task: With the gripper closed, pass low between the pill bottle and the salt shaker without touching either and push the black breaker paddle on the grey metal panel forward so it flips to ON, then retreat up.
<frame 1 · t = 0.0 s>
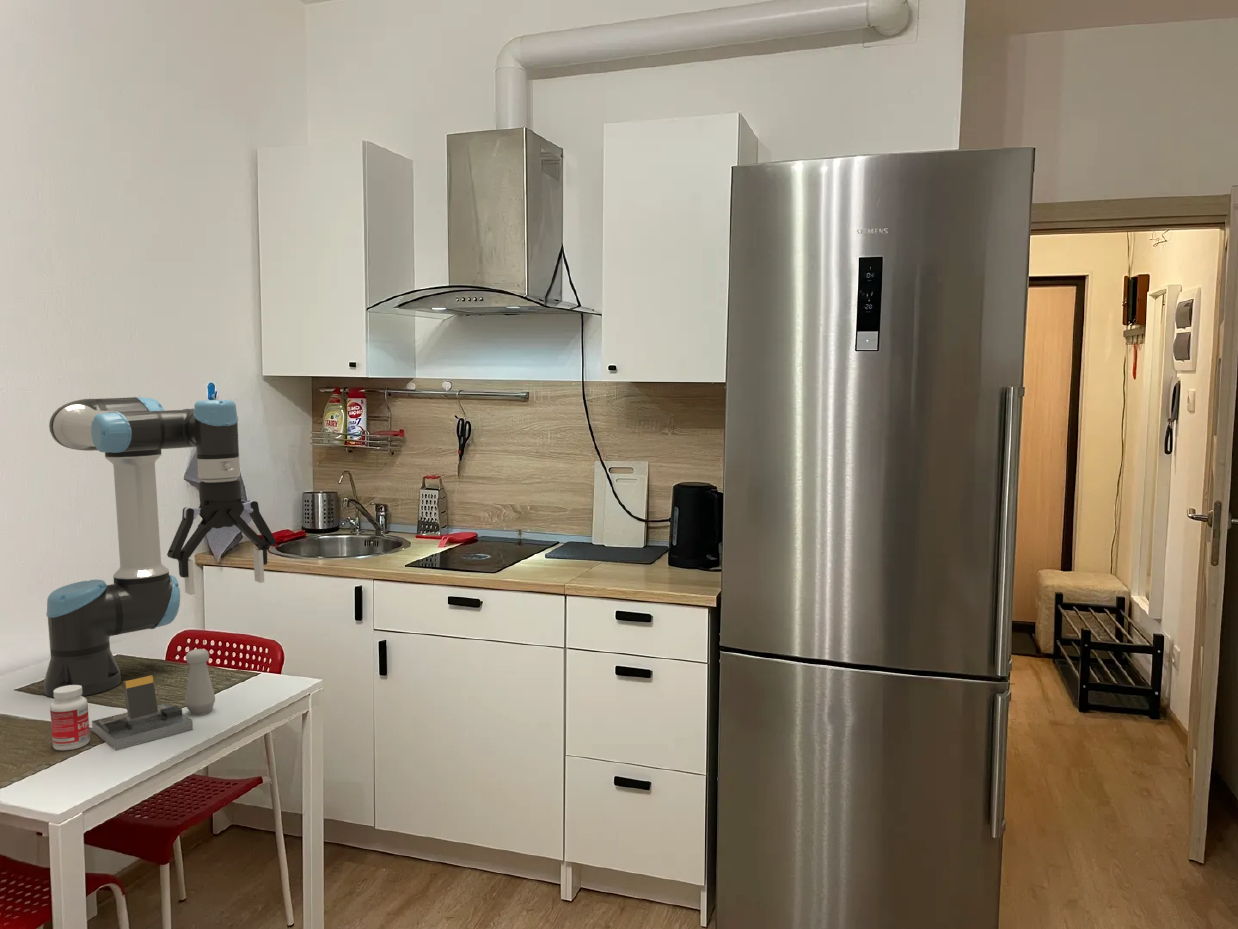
hand: (225, 587, 185), 28 cm above the table, fingers open, 13 cm apart
panel: (142, 730, 186), on the table
paddle: (140, 699, 186), point 6 cm above the table, hinge at -15.0°
pill bottle: (71, 746, 179), on the table
salt shaker: (200, 712, 196), on the table
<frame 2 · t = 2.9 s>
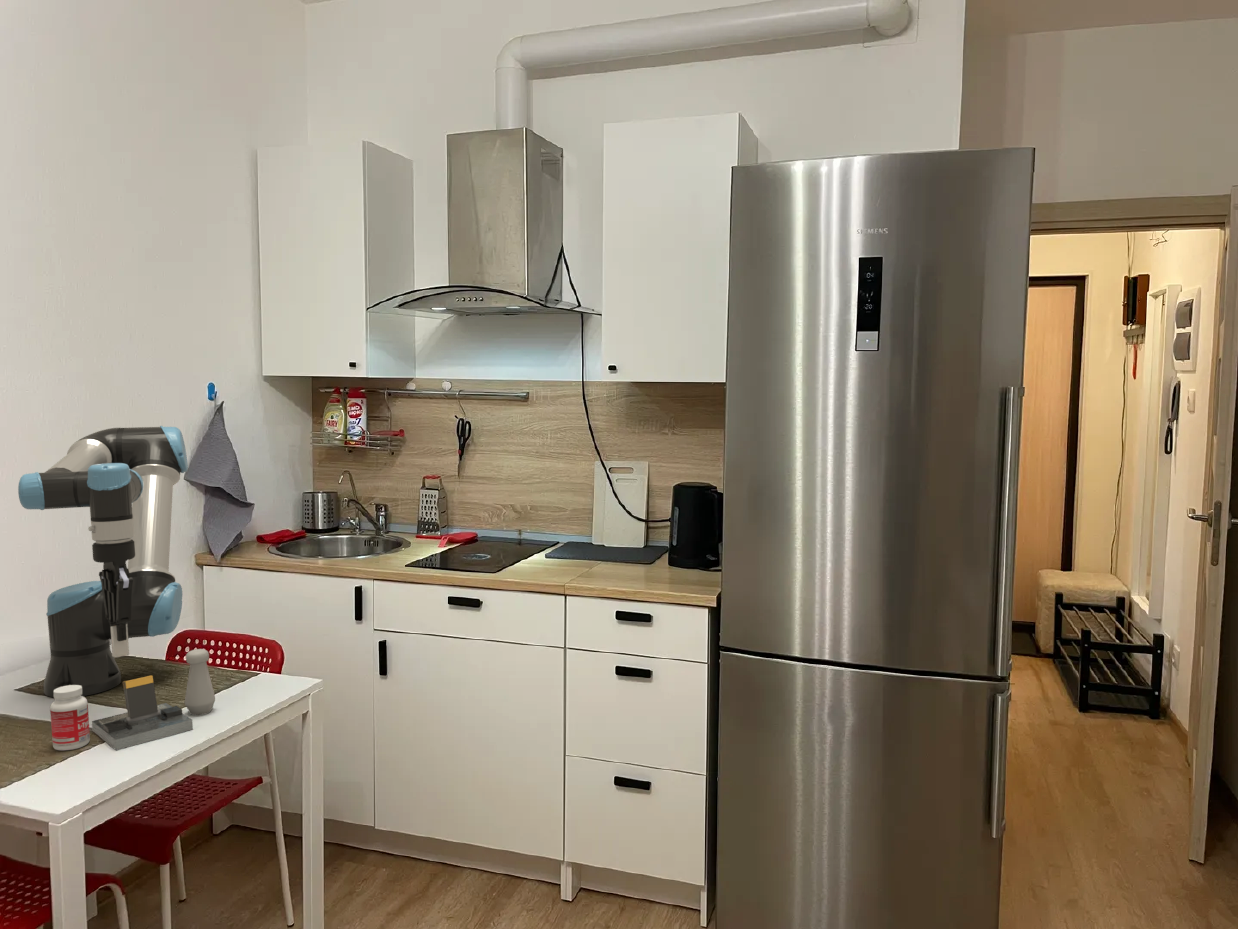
hand: (120, 655, 192), 13 cm above the table, fingers closed
nothing on the table moved.
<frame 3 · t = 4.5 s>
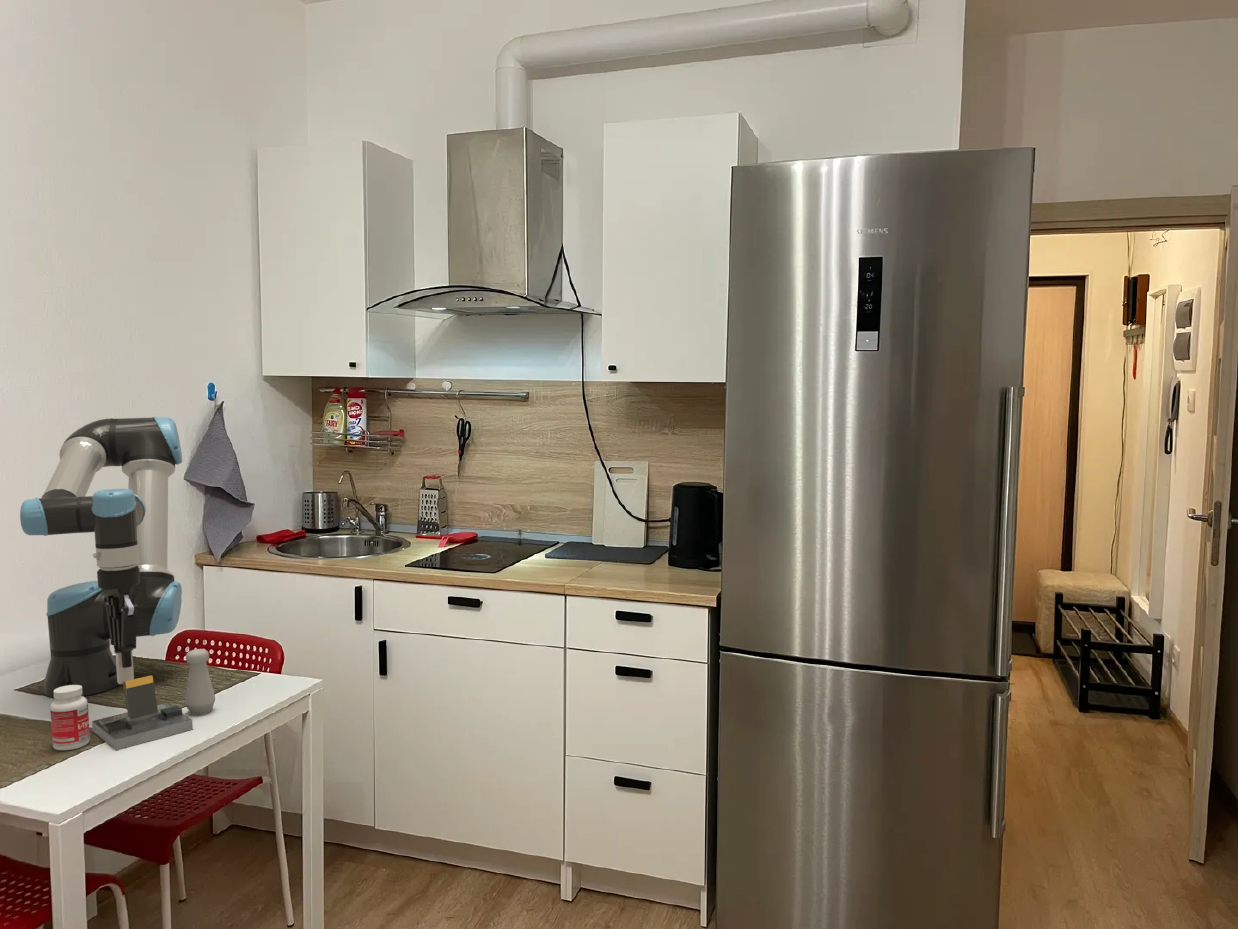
hand: (125, 681, 191), 8 cm above the table, fingers closed
nothing on the table moved.
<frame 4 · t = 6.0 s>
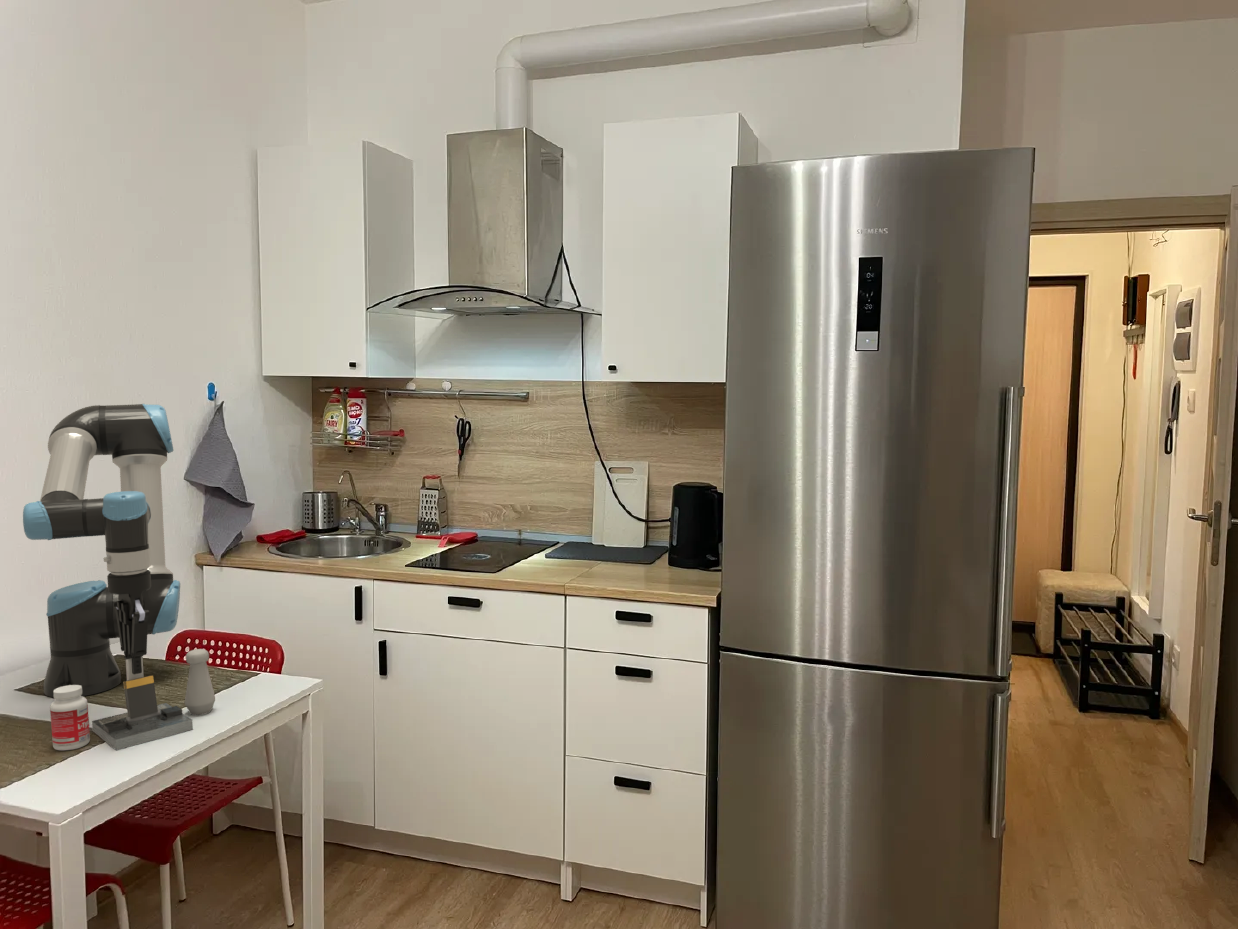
hand: (135, 688, 187), 8 cm above the table, fingers closed
paddle: (141, 699, 185), point 6 cm above the table, hinge at -12.4°, touching gripper
everything else where it was.
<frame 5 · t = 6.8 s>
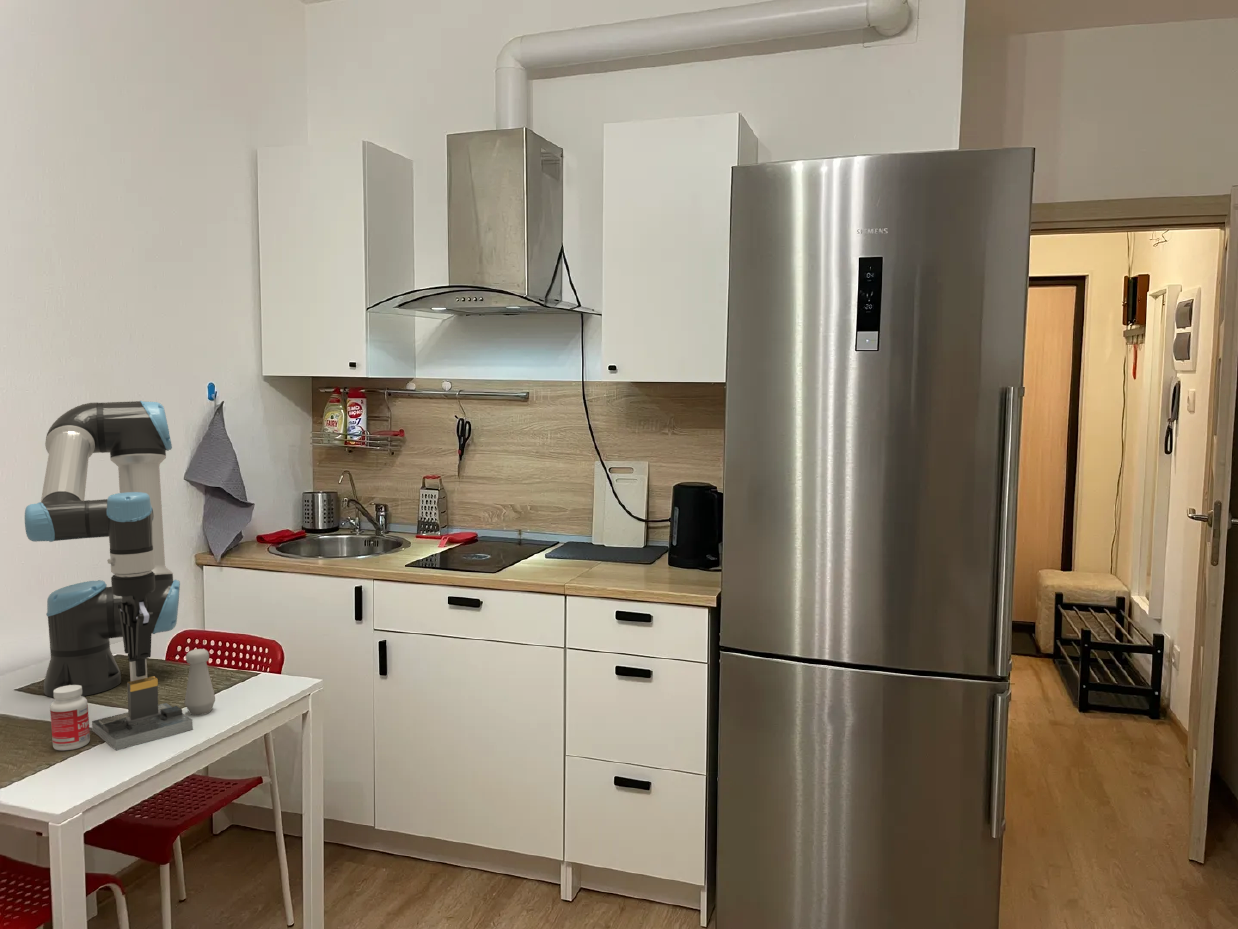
hand: (139, 691, 185), 8 cm above the table, fingers closed
paddle: (143, 700, 185), point 6 cm above the table, hinge at 6.3°, touching gripper
everything else where it was.
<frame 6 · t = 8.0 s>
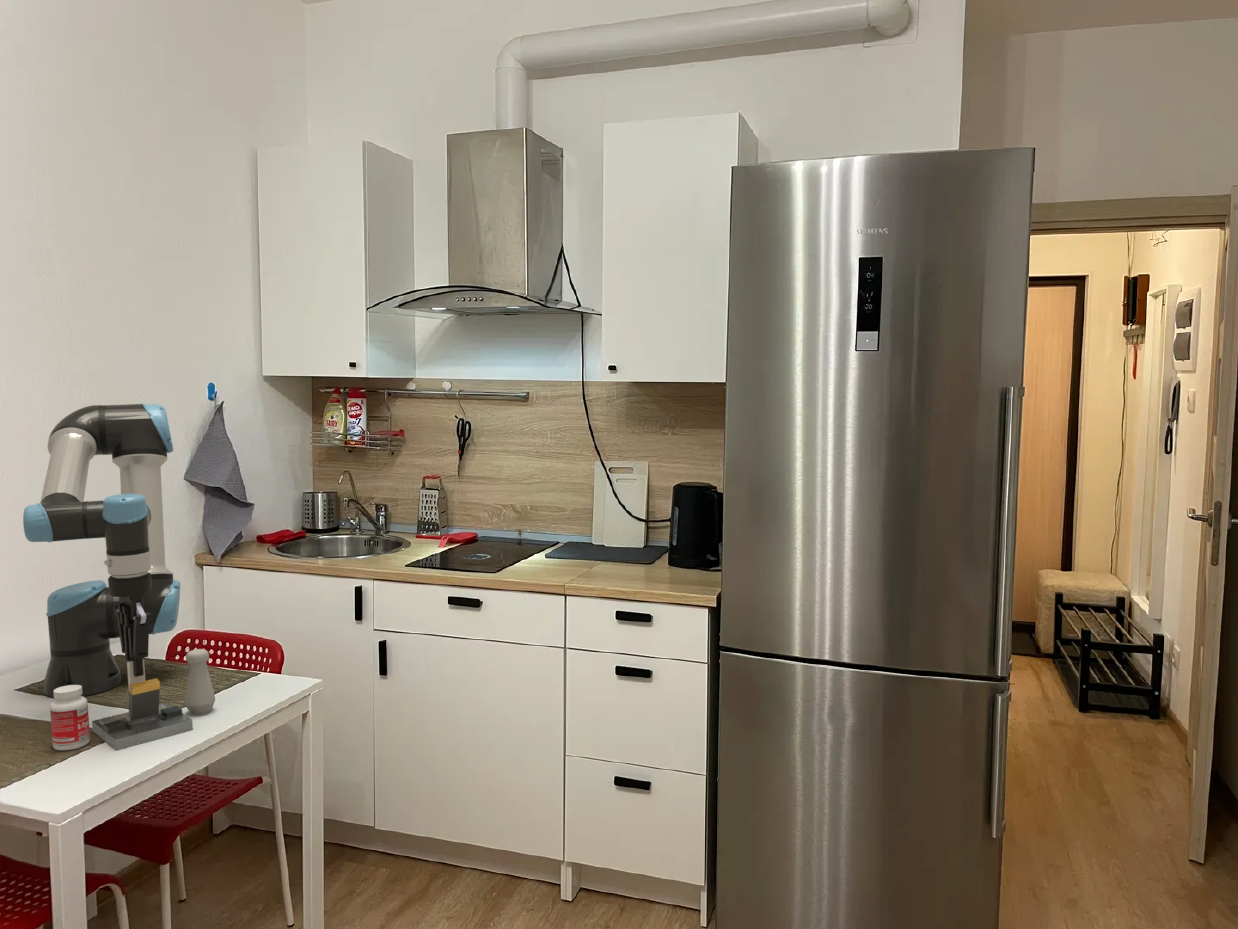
hand: (137, 690, 187), 7 cm above the table, fingers closed
paddle: (144, 701, 184), point 6 cm above the table, hinge at 16.9°
everything else where it was.
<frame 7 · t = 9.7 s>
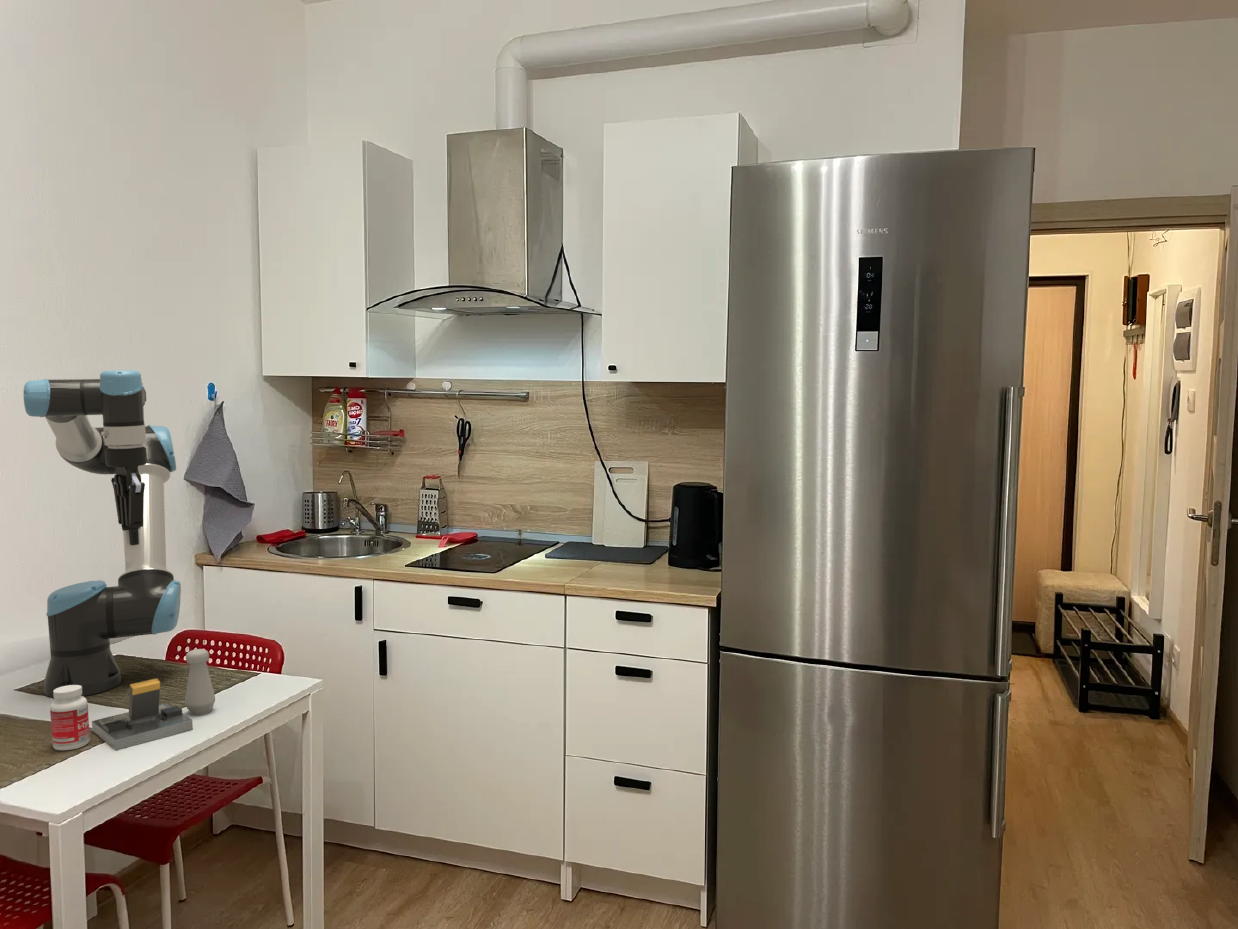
hand: (133, 559, 195), 32 cm above the table, fingers closed
nothing on the table moved.
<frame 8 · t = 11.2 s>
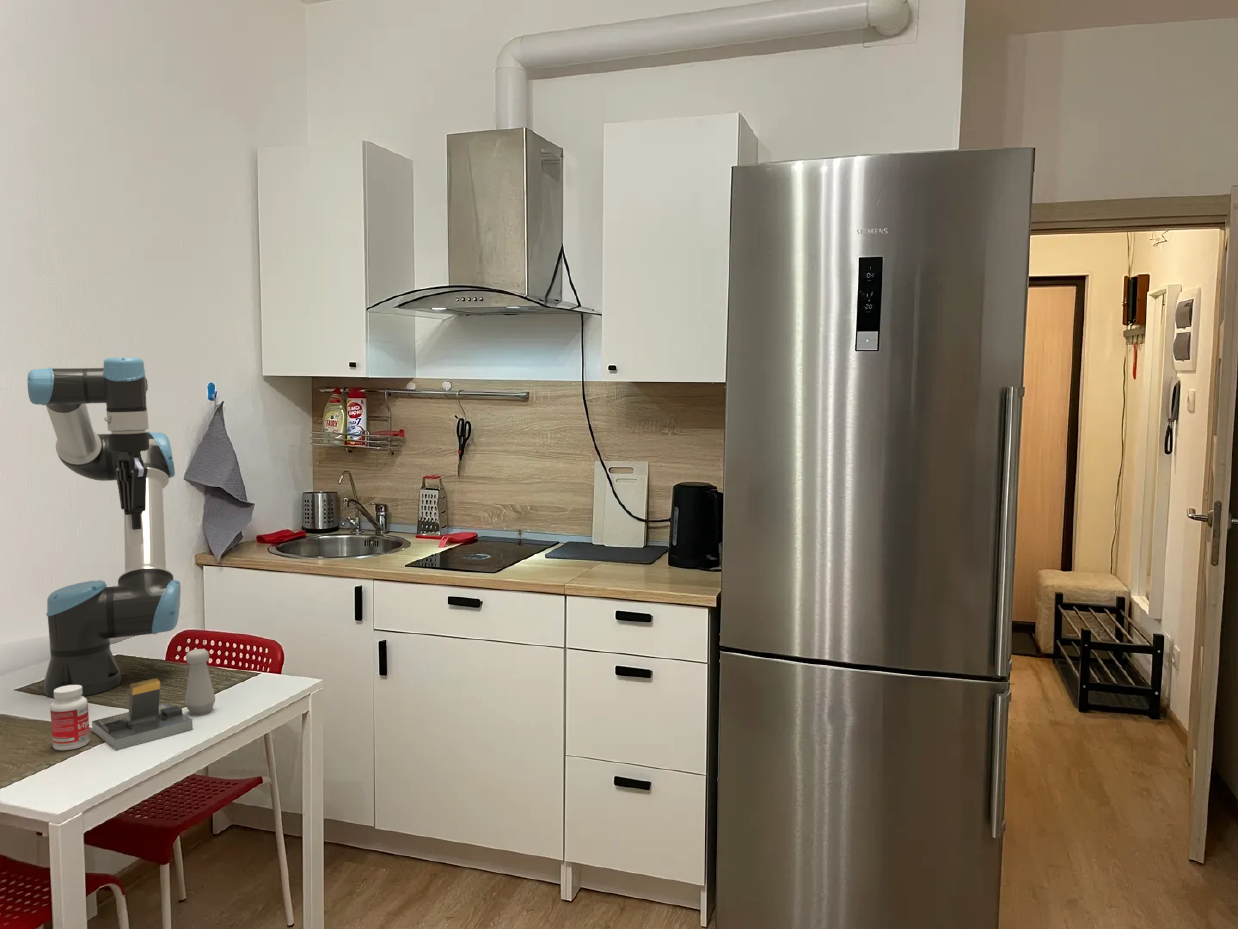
hand: (135, 544, 198), 34 cm above the table, fingers closed
nothing on the table moved.
at the end: paddle at +17° (first picture: -15°); pill bottle moved 0.2 cm from its start; salt shaker moved 0.2 cm from its start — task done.
